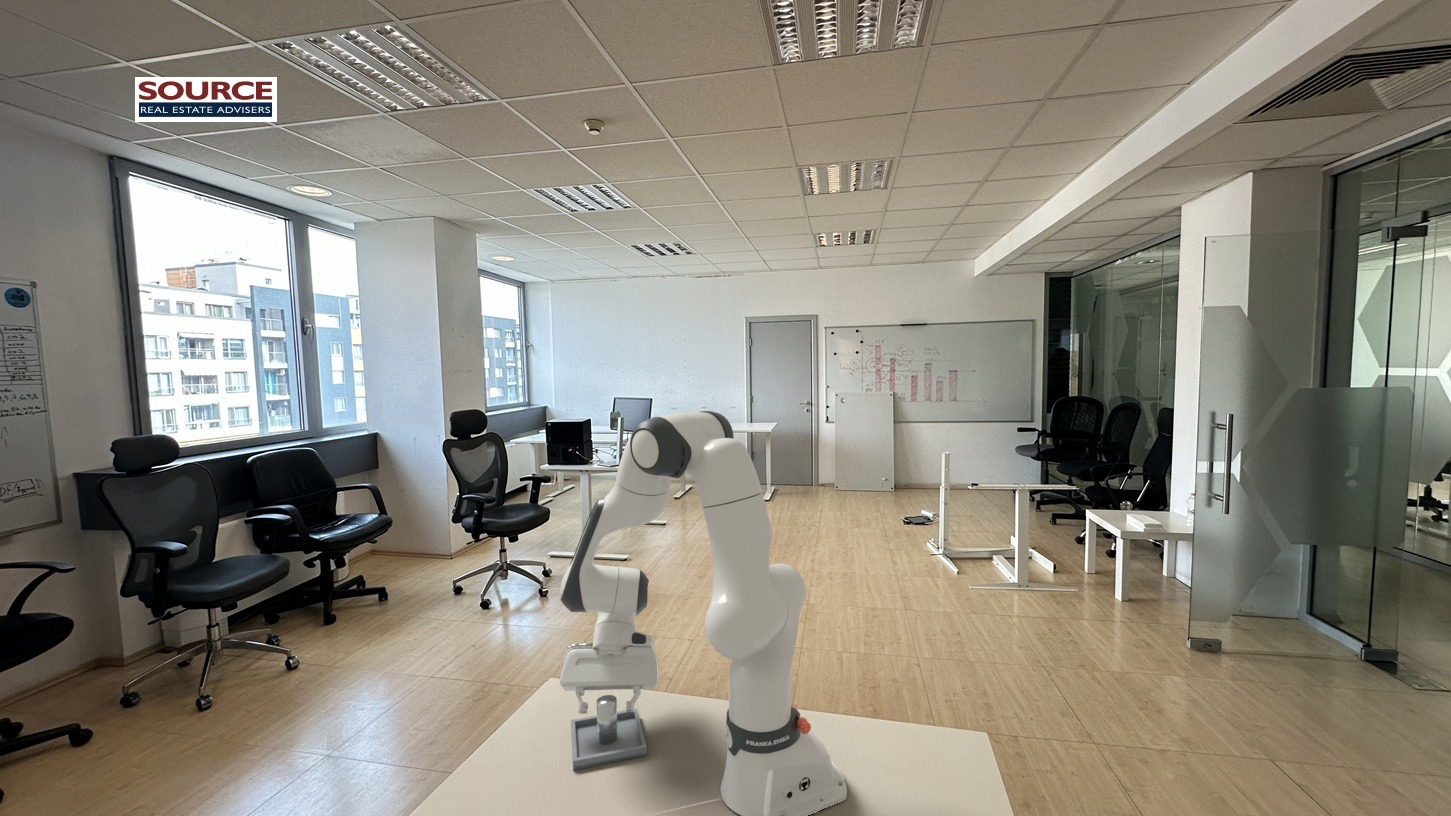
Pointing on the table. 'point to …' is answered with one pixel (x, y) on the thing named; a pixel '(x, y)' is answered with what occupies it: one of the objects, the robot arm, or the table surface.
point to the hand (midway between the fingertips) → (606, 712)
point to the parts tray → (623, 748)
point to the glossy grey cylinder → (607, 719)
